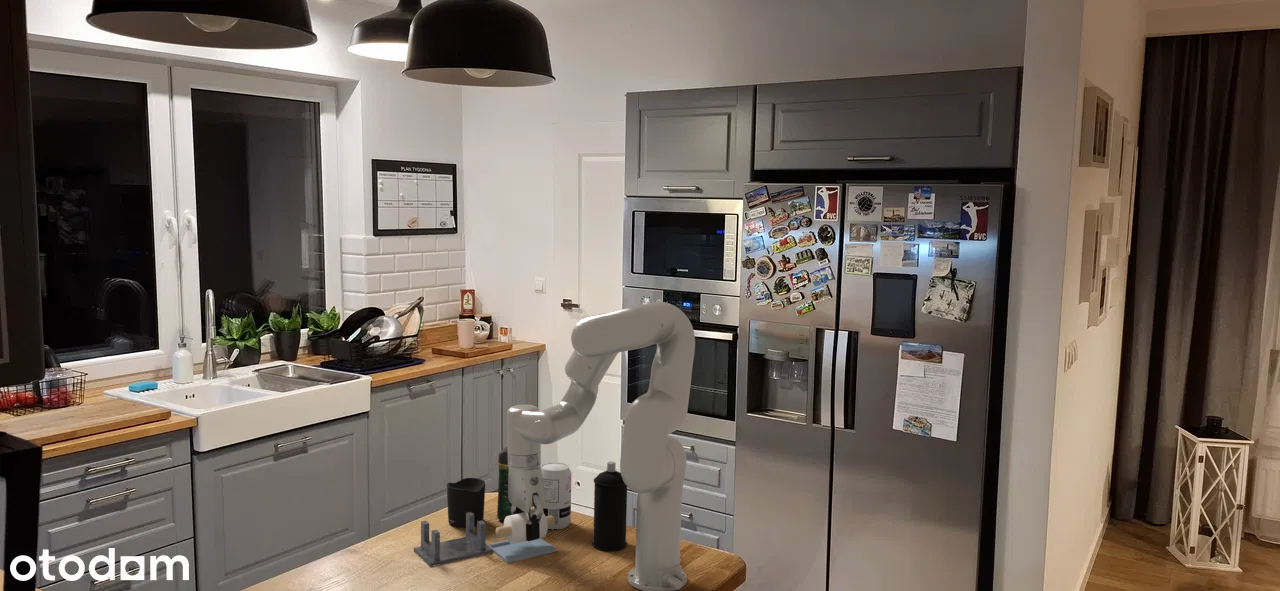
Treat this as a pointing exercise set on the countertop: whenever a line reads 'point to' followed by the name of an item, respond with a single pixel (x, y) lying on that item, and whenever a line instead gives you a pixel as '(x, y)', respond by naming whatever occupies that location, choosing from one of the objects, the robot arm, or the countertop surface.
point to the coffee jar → (503, 486)
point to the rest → (521, 549)
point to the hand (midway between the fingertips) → (525, 534)
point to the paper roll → (521, 527)
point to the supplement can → (557, 493)
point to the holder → (453, 544)
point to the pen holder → (465, 501)
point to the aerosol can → (610, 510)
